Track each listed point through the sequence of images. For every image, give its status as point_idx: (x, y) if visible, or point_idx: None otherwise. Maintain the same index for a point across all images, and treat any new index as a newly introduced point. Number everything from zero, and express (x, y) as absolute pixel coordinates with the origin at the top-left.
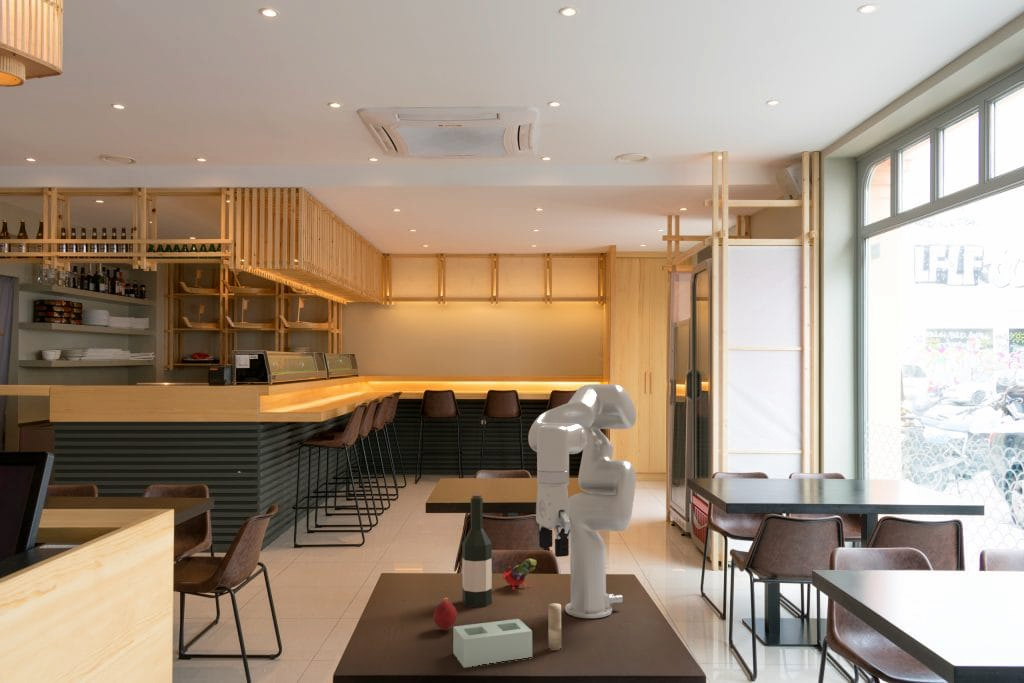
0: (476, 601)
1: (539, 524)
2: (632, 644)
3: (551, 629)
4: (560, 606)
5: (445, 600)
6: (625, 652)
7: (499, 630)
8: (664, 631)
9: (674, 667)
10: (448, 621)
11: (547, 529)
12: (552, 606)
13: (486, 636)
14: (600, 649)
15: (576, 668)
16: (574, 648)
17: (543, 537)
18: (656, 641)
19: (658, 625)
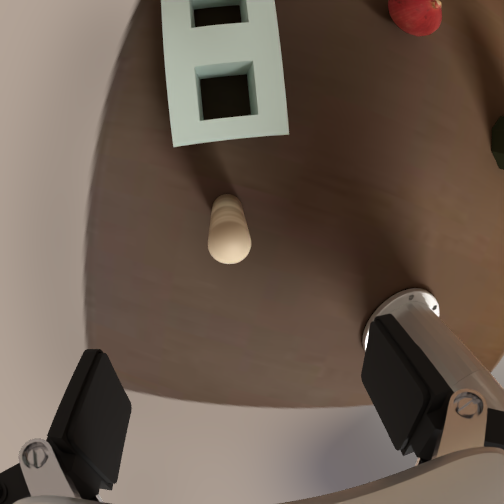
0: (499, 133)
1: (413, 467)
2: (216, 354)
3: (216, 210)
4: (216, 258)
5: (433, 1)
6: (179, 332)
7: (201, 58)
8: (263, 405)
9: None
10: (390, 8)
11: (418, 441)
12: (217, 233)
13: (164, 22)
14: (202, 297)
15: (112, 224)
16: None
17: (397, 379)
18: (222, 386)
19: (292, 404)
